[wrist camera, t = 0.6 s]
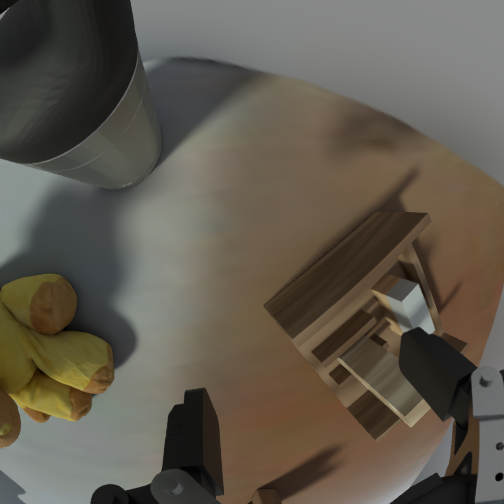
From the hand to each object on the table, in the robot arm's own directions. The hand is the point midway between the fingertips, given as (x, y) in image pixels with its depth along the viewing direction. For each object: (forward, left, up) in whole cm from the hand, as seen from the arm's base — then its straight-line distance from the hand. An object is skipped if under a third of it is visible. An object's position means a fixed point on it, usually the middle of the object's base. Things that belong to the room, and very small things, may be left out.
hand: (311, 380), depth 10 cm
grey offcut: (+16, +14, -17) cm, 27 cm away
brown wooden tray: (+16, +10, -21) cm, 28 cm away
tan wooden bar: (+16, +6, -20) cm, 26 cm away
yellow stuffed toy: (-9, -24, -21) cm, 33 cm away
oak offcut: (+16, +14, -20) cm, 29 cm away
